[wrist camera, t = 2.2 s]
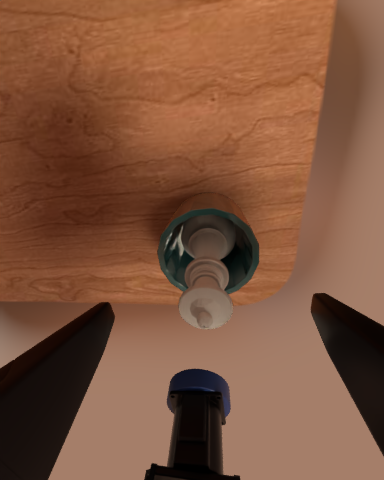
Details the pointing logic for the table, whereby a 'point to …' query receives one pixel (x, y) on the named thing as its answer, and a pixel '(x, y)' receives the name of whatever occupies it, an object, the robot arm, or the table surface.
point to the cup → (237, 261)
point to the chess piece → (207, 271)
